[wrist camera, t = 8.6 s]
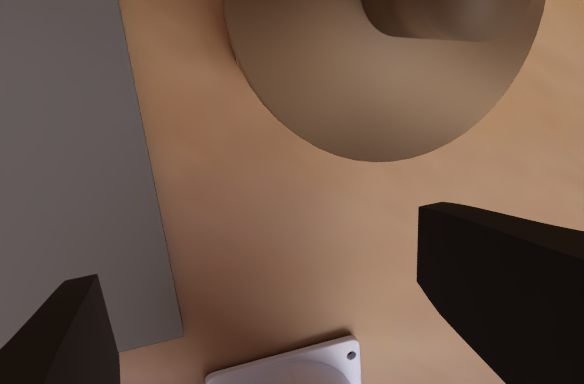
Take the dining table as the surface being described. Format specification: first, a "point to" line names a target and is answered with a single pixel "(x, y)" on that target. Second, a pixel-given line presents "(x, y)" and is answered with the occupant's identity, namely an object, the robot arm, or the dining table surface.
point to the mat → (77, 171)
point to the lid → (381, 67)
